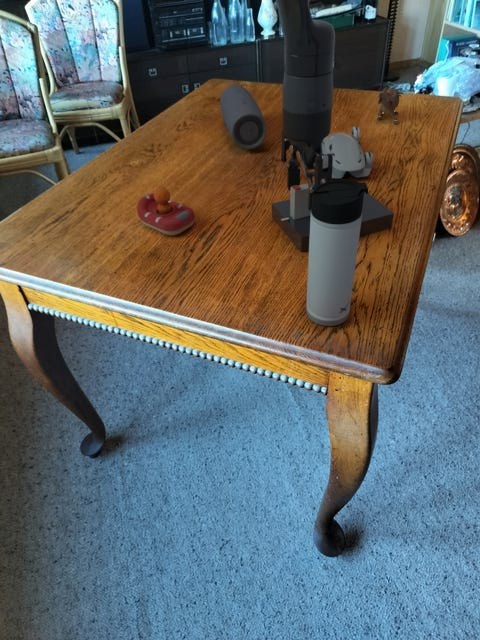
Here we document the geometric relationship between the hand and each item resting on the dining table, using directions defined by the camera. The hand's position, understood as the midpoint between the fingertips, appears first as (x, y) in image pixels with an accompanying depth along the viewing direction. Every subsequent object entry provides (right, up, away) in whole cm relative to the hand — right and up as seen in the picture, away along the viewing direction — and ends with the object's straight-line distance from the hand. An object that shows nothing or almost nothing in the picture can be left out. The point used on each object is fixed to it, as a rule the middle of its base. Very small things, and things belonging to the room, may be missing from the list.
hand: (303, 199), depth 82 cm
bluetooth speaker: (-10, +26, +38) cm, 47 cm away
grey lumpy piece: (+12, +15, +25) cm, 31 cm away
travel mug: (+2, -20, -13) cm, 24 cm away
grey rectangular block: (0, -2, +2) cm, 3 cm away
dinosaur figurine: (+28, +32, +42) cm, 60 cm away
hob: (+6, -3, +5) cm, 8 cm away
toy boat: (-25, -3, +9) cm, 27 cm away
